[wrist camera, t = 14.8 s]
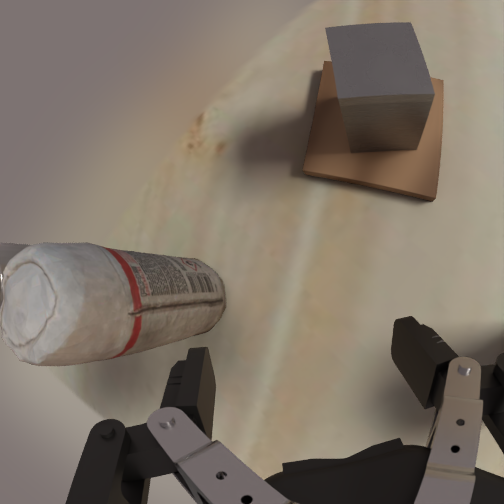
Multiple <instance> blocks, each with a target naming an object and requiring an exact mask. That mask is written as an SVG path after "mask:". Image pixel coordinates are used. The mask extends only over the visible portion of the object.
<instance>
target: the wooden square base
mask: <svg viewBox="0 0 504 504" xmlns="http://www.w3.org/2000/svg"><path fill="white" fill-rule="evenodd" d="M430 78H431V77H430ZM431 82H432V85H433V89H434V92H435V96H434V99H433V102H432V106H431V109H430V112H429V115H428V118H427V122H426V125H425V128H424V131H423V134H422V137H421V139H420V142H419V145H418V148H417V150H401V151H380V152H364V153H351V152H350V147H349V143H348V138H347V134H346V130H345V125H344V121H343V117H342V113H341V109H340V105H339V101H338V96H337V90H336V83H335V77H334V71H333V66H332V62H330V61H324V65H323V71H322V76H321V81H320V86H319V92H318V97H317V102H316V107H315V112H314V117H313V122H312V127H311V132H310V137H309V141H308V146H307V151H306V156H305V161H304V165H303V172H304V173H305V174H306V175H311V176H316V177H322V178H327V179H333V180H338V181H343V182H348V183H353V184H358V185H363V186H368V187H373V188H377V189H382V190H387V191H391V192H395V193H400V194H404V195H408V196H412V197H416V198H421V199H425V200H429V201H432V202H433V201H434V200H435V199H436V194H437V186H438V177H439V168H440V157H441V145H442V128H443V80H440V79H435V78H431Z"/></svg>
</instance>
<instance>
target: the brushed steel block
mask: <svg viewBox="0 0 504 504" xmlns="http://www.w3.org/2000/svg"><path fill="white" fill-rule="evenodd" d="M325 29H326V34H327V39H328V44H329V49H330V55H331V60H332V66H333V71H334V77H335V83H336V90H337V96H338V101H339V105H340V109H341V113H342V117H343V121H344V125H345V130H346V134H347V138H348V143H349V147H350V152H351V153H364V152H380V151H401V150H417V148H418V145H419V142H420V139H421V137H422V134H423V131H424V128H425V125H426V122H427V118H428V115H429V112H430V109H431V106H432V102H433V99H434V96H435V92H434V89H433V85H432V82H431V78H430V75H429V72H428V69H427V66H426V63H425V60H424V57H423V54H422V51H421V48H420V45H419V43H418V40H417V37H416V35H415V32H414V29H413V27H412V24H411V23H373V24H359V25H347V26H337V27H329V28H325Z"/></svg>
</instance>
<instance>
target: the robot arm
mask: <svg viewBox="0 0 504 504" xmlns="http://www.w3.org/2000/svg"><path fill="white" fill-rule="evenodd" d="M29 246H31V245H26V244H13V243H0V309H1V305H2V302H3V299H4V295H3V282H2V281H3V277H4V275H3V271H4V270H5V267H6V265H7V264H8V262H9V260H11V259H12V258H13V257H14V256H15V255H16V254H18V253H19V252H21V251H22V250H23V249H25V248H26V247H29ZM391 355H392V359H393V361H394V363H395V365H396V366H397V368H398V369H399V371H400V372H401V374H402V375H403V377H404V378H405V380H406V381H407V383H408V384H409V386H410V387H411V389H412V390H413V392H414V393H415V395H416V397H417V398H418V400H419V401H420V403H421V404H422V406H423V408H424V409H427V408H430V407H433V406H435V408H436V411H435V414H434V418H433V421H432V425H431V429H430V432H429V436H428V439H427V443H426V446H425V447H424V446H418V445H403V443H402V441H401V439H400V438H397V439H394V440H391V441H387V442H384V443H380V444H377V445H373V446H371V447H369V448H367V449H365V450H363V451H361V452H359V453H357V454H354V455H352V456H350V457H348V458H344V459H308V460H301V461H295V462H288V463H282V466H283V471H282V472H279V473H277V474H274V475H272V476H270V477H268V478H267V479H265V480H263V479H262V478H260V477H259V476H258V475H257V474H256V473H255V472H253V471H252V470H251V469H250V468H249V467H248V466H246V465H245V464H244V463H243V462H242V461H241V460H240V459H238V458H237V457H236V456H235V455H234V454H233V453H232V452H231V451H230V450H229V449H227V448H226V447H225V446H224V445H223V444H222V443H221V442H219V441H217V440H216V441H214V442H212V441H211V439H212V427H213V415H214V403H215V392H216V383H215V376H214V372H213V367H212V363H211V359H210V355H209V351H208V348H207V347H200V348H190V349H189V351H188V355H187V359H186V360H183V361H178V362H177V363H176V364H175V365H174V366H173V367H172V368H171V371H170V375H169V379H168V382H167V385H166V389H165V392H164V396H163V399H162V403H161V407H160V409H158V410H156V411H155V412H153V413H152V414H151V415H150V416H149V418H148V420H147V423H144V424H141V425H136V426H132V427H127V428H125V426H124V424H123V423H122V422H120V421H118V420H115V419H107V420H103V421H101V422H99V423H97V424H96V425H95V426H94V427H93V428H92V429H91V431H90V434H89V436H88V439H87V442H86V444H85V447H84V450H83V453H82V456H81V458H80V461H79V464H78V467H77V470H76V473H75V476H74V479H73V482H72V485H71V488H70V492H69V494H68V497H67V501H66V504H147V501H148V493H149V486H150V479H151V478H152V477H157V476H161V475H166V474H170V473H172V474H173V475H174V476H175V477H176V479H177V480H178V481H179V482H180V484H181V485H182V486H183V487H184V489H185V490H186V491H187V492H188V493H189V494H190V496H191V497H192V498H193V499H194V500H195V502H196V503H197V504H504V478H503V477H500V476H498V475H495V474H492V473H489V472H487V471H484V470H481V469H479V468H476V467H475V464H476V458H477V452H478V445H479V438H480V430H481V422H482V420H483V422H484V423H485V425H486V426H487V428H488V429H489V431H490V433H491V434H492V436H493V437H494V439H495V440H496V442H497V444H498V445H499V447H500V449H501V450H502V452H503V453H504V353H502V354H500V355H499V356H498V357H497V360H496V363H495V365H487V366H480V364H479V363H478V362H477V361H476V360H474V359H472V358H469V357H459V356H458V355H457V354H456V353H455V352H454V351H453V350H452V349H451V348H450V347H449V346H448V345H447V343H446V342H444V341H443V339H442V338H441V337H439V335H438V334H437V333H436V332H435V331H434V330H433V329H432V328H430V327H428V326H426V325H424V324H422V325H420V324H419V323H418V322H417V321H416V319H415V318H414V317H412V316H409V317H404V318H400V319H396V320H395V322H394V328H393V337H392V346H391Z"/></svg>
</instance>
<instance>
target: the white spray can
mask: <svg viewBox="0 0 504 504" xmlns="http://www.w3.org/2000/svg"><path fill="white" fill-rule="evenodd" d="M3 275H4V277H3V281H2V282H3V295H4V299H3V302H2V305H1V309H0V326H1V330H2V339H3V341H4V342H5V343H6V344H7V345H8V346H9V348H11V350H12V351H13V352H14V353H15V354H16V356H17V357H18V359H19V360H20V361H22V362H27V363H29V364H32V365H38V366H66V365H75V364H82V363H88V362H94V361H100V360H107V359H112V358H116V357H121V356H125V355H131V354H134V353H138V352H142V351H145V350H148V349H152V348H155V347H158V346H163V345H166V344H169V343H172V342H176V341H180V340H182V339H186V338H189V337H191V336H194V335H199V334H203V333H206V332H208V331H209V330H211V329H212V328H213V327H214V325H215V324H216V323H217V322H218V321H219V320H220V318H221V316H222V314H223V312H224V310H225V309H226V297H225V287H224V284H223V281H222V279H221V278H220V277H219V275H218V274H217V273H216V272H215V271H214V270H213V269H212V268H210V267H209V266H208V265H206V264H205V263H203V262H201V261H200V260H198V259H195V258H194V259H193V258H181V257H172V256H165V255H157V254H149V253H140V252H134V251H123V250H117V249H110V248H105V247H102V246H99V245H95V244H90V243H40V244H35V245H31V246H29V247H26V248H25V249H23V250H22V251H21V252H19V253H18V254H16V255H15V256H14V257H13V258H12V259H11V260H9V262H8V264H7V265H6V267H5V270H4V271H3Z"/></svg>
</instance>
